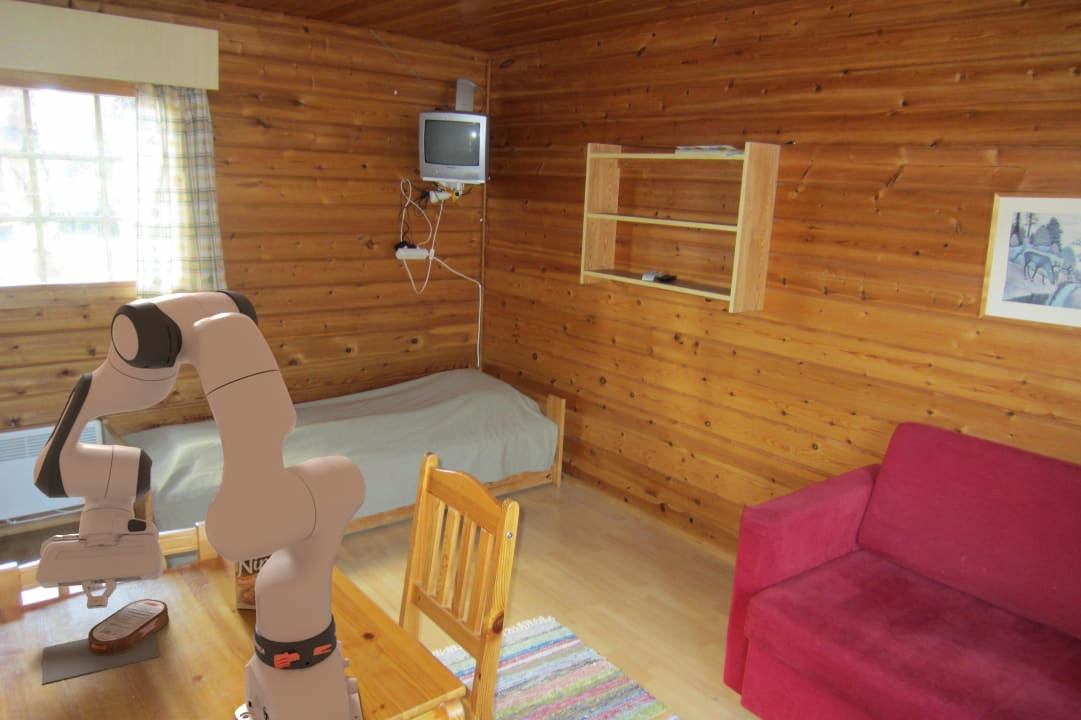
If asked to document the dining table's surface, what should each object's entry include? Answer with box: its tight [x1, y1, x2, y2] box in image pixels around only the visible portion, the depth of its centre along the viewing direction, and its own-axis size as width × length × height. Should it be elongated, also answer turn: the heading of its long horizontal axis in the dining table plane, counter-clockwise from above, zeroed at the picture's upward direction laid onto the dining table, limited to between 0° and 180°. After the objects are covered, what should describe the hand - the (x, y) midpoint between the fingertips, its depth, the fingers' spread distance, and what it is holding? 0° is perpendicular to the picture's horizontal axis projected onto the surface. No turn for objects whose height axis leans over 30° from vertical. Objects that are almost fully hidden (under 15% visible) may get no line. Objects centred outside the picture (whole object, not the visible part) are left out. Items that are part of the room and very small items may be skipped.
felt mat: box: [41, 632, 160, 685], centre depth 139 cm, size 11×17×1 cm, turn 120°
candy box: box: [234, 554, 272, 610], centre depth 154 cm, size 9×4×15 cm, turn 87°
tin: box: [87, 598, 170, 656], centre depth 144 cm, size 15×3×8 cm
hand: (96, 607), depth 143 cm, fingers closed
